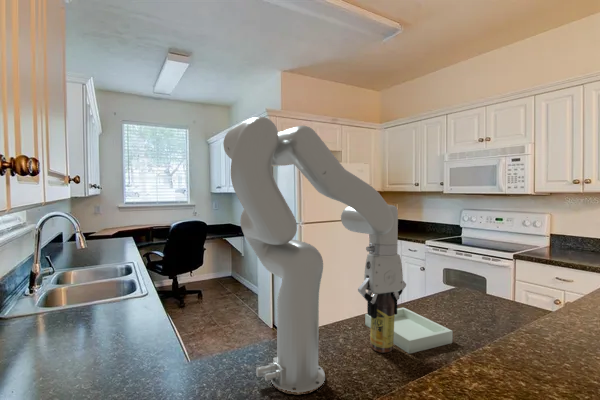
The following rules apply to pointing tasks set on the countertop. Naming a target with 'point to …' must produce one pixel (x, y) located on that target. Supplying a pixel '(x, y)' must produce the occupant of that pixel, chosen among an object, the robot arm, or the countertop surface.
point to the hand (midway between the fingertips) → (382, 314)
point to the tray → (416, 331)
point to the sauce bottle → (383, 324)
